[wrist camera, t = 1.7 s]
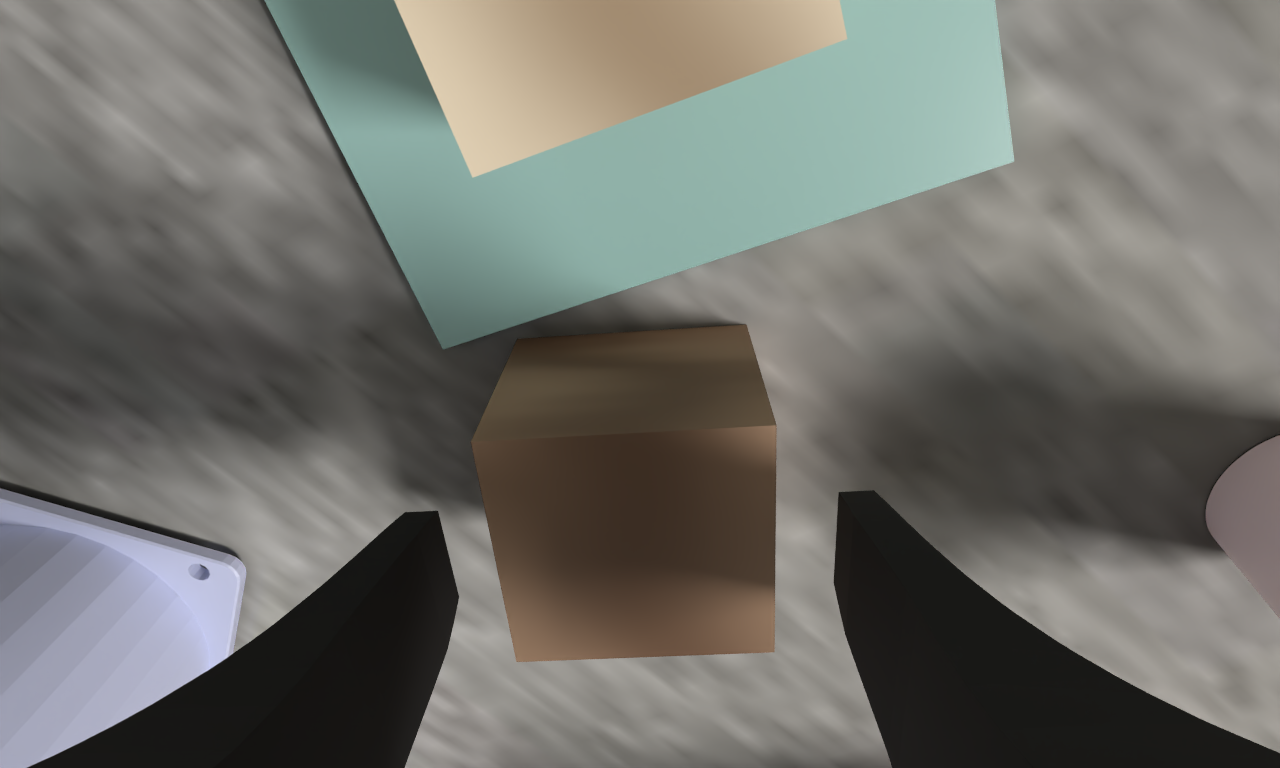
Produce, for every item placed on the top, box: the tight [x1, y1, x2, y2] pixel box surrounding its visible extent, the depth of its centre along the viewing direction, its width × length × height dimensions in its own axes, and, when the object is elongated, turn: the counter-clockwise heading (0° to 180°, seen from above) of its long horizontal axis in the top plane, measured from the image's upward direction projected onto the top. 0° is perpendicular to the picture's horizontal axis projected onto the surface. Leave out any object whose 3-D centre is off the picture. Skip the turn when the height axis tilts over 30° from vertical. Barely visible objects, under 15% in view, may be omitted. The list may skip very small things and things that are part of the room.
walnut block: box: [471, 325, 776, 662], centre depth 15 cm, size 5×5×4 cm
